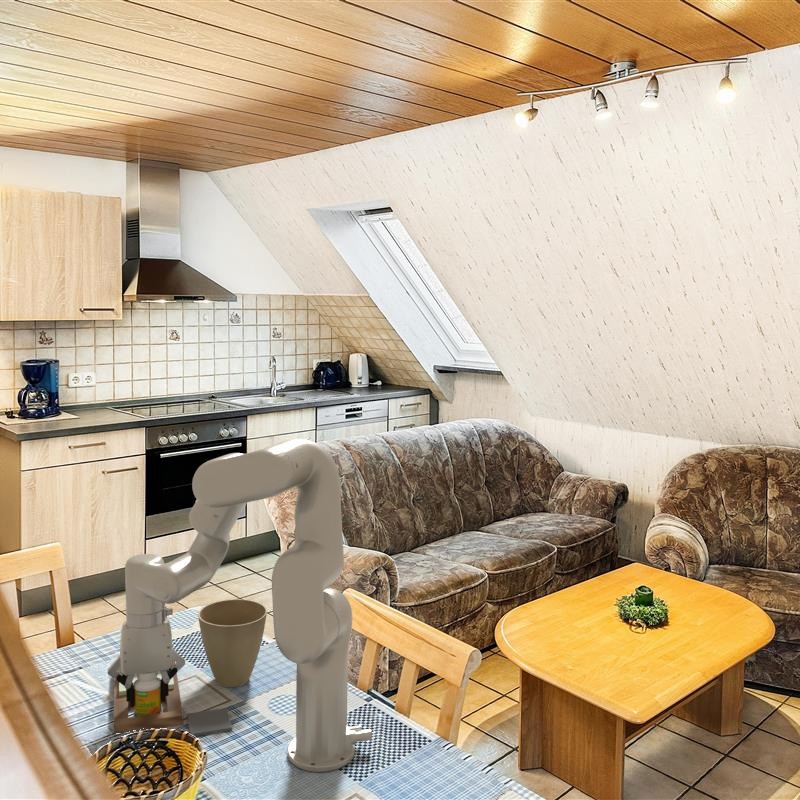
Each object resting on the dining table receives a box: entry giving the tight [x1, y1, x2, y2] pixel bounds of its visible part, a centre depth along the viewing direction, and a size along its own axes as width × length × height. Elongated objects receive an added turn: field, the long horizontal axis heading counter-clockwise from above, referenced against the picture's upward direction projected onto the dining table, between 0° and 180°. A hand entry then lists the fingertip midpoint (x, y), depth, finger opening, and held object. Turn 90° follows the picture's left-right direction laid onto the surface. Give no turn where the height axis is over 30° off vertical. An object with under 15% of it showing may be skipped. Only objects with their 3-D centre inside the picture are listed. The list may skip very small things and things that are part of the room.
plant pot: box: [197, 598, 268, 688], centre depth 176 cm, size 15×15×16 cm
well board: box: [113, 660, 184, 735], centre depth 168 cm, size 13×26×2 cm, turn 19°
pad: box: [186, 707, 233, 737], centre depth 159 cm, size 8×8×1 cm
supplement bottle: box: [133, 672, 162, 717], centre depth 161 cm, size 5×5×10 cm
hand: (147, 700), depth 162 cm, fingers closed on supplement bottle, 5 cm apart
